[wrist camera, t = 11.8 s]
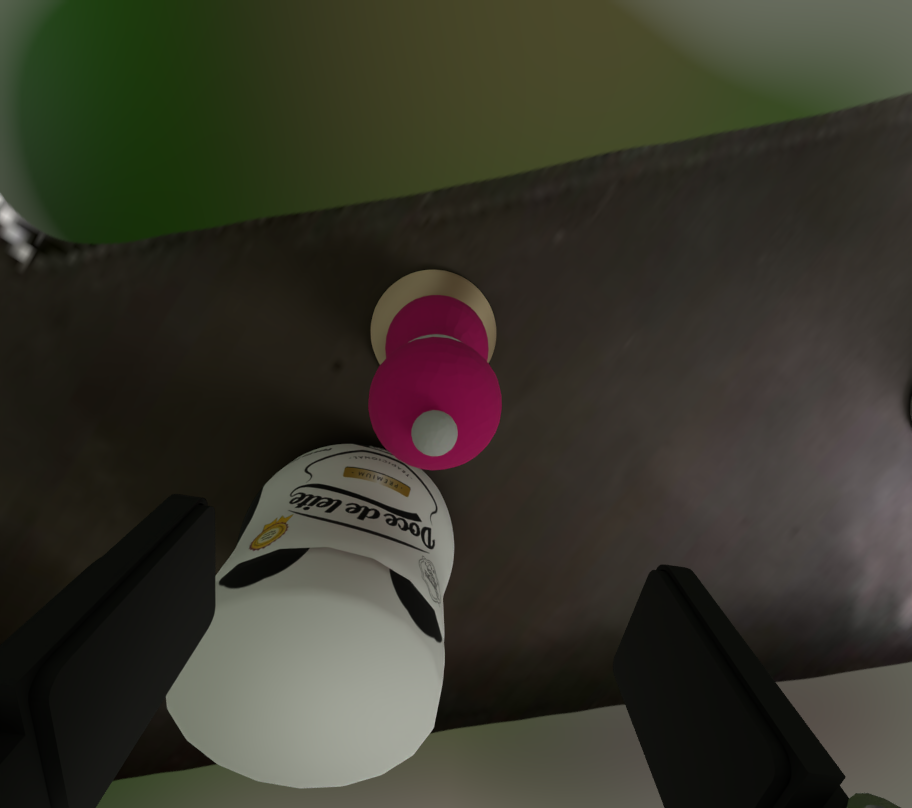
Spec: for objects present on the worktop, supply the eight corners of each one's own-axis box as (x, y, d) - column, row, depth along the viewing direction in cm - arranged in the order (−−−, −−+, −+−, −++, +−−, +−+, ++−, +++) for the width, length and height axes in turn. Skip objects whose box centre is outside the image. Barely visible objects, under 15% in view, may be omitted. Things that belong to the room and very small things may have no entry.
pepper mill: (376, 309, 34) (297, 390, 15) (464, 274, 33) (494, 312, 14) (413, 391, 36) (384, 549, 17) (495, 360, 36) (557, 490, 17)
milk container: (423, 408, 38) (409, 542, 21) (471, 565, 43) (491, 769, 27) (235, 456, 39) (74, 621, 22) (307, 603, 44) (225, 822, 28)
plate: (507, 282, 34) (508, 283, 33) (481, 400, 37) (482, 403, 37) (379, 258, 33) (378, 258, 33) (365, 382, 37) (363, 384, 36)
